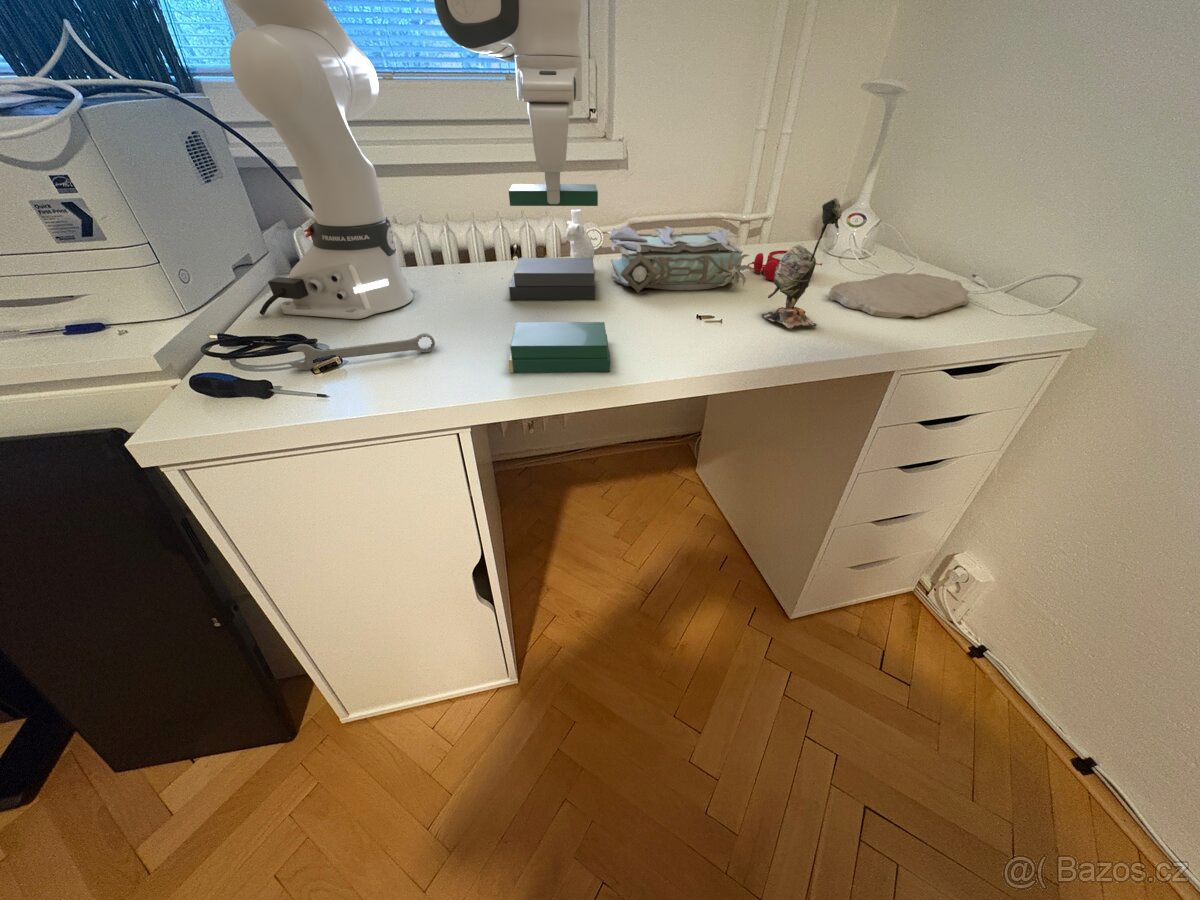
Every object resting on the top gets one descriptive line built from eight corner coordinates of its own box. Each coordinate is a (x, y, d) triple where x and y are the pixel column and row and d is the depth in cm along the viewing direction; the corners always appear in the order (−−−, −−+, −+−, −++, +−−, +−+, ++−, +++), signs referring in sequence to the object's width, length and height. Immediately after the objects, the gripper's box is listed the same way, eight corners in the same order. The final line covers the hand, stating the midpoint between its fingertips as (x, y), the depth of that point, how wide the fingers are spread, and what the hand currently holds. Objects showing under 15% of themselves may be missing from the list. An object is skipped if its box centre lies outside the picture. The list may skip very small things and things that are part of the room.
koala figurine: (561, 263, 113) (559, 207, 105) (589, 262, 114) (590, 206, 106) (566, 274, 106) (564, 215, 99) (596, 273, 107) (596, 214, 100)
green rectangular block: (510, 372, 69) (507, 347, 67) (515, 346, 76) (513, 321, 74) (609, 371, 70) (610, 346, 67) (606, 345, 77) (606, 321, 74)
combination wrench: (432, 328, 73) (282, 344, 67) (433, 331, 72) (281, 347, 66) (436, 351, 75) (291, 368, 69) (437, 354, 74) (290, 372, 68)
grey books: (510, 299, 93) (507, 273, 90) (515, 281, 102) (513, 257, 99) (595, 299, 94) (595, 273, 91) (593, 281, 102) (593, 257, 99)
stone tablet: (818, 296, 97) (821, 284, 95) (918, 278, 107) (922, 267, 106) (888, 327, 85) (893, 314, 84) (992, 303, 95) (999, 291, 94)
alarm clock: (829, 262, 103) (772, 249, 98) (815, 291, 107) (759, 280, 102) (801, 250, 111) (747, 237, 106) (789, 277, 115) (736, 266, 110)
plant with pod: (793, 307, 92) (824, 190, 80) (821, 331, 83) (860, 202, 71) (752, 308, 91) (777, 190, 79) (775, 332, 82) (807, 202, 70)
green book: (509, 205, 71) (508, 190, 70) (513, 198, 76) (512, 183, 75) (597, 206, 72) (597, 191, 70) (595, 198, 77) (595, 184, 76)
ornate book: (617, 301, 96) (762, 291, 98) (616, 250, 90) (771, 241, 92) (602, 268, 113) (725, 260, 116) (601, 224, 108) (731, 216, 110)
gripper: (530, 85, 73) (536, 187, 82) (520, 84, 57) (529, 211, 65) (571, 86, 74) (573, 187, 82) (573, 84, 57) (576, 211, 66)
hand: (554, 198), depth 73 cm, fingers closed on green book, 6 cm apart
